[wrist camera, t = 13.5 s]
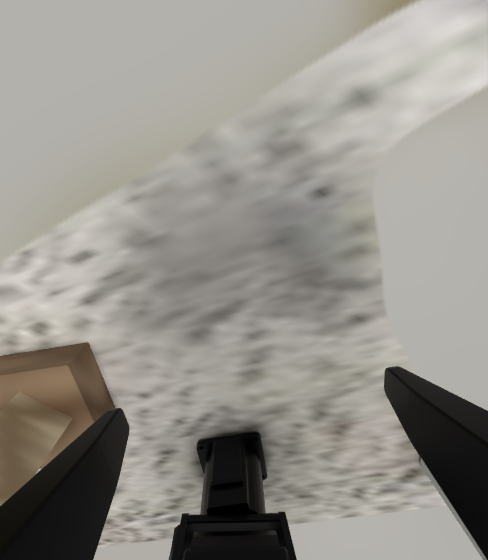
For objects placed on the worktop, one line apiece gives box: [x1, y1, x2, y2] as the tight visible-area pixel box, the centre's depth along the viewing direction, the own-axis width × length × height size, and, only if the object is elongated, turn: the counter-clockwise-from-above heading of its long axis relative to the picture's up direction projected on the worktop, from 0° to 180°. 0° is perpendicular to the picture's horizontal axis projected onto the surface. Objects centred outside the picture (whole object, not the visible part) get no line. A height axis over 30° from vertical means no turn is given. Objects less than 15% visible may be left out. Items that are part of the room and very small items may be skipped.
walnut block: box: [0, 343, 116, 468], centre depth 23 cm, size 10×10×4 cm
